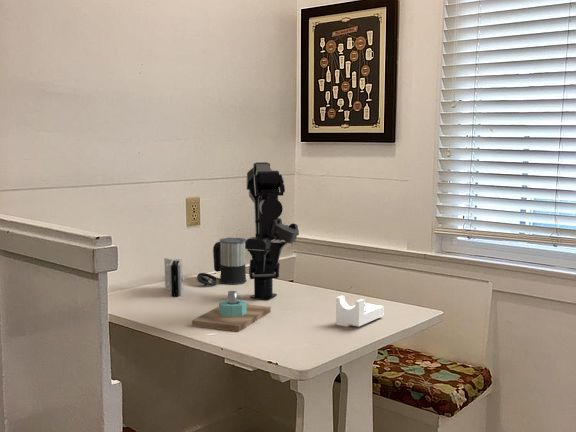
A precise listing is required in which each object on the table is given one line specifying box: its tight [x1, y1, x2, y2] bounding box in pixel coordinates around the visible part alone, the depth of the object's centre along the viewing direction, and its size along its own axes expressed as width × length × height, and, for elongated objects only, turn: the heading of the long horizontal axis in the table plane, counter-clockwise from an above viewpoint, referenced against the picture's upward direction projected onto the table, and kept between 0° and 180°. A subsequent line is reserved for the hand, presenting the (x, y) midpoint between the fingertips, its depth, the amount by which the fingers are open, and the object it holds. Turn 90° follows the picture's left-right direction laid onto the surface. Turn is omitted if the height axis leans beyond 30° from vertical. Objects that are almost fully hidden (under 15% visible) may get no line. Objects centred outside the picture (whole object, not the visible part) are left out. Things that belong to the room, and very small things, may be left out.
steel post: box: [227, 290, 238, 305], centre depth 178 cm, size 2×2×6 cm
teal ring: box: [218, 299, 248, 317], centre depth 178 cm, size 7×7×3 cm
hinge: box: [164, 257, 184, 298], centre depth 210 cm, size 14×5×10 cm, turn 18°
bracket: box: [335, 295, 385, 327], centre depth 176 cm, size 13×7×8 cm, turn 142°
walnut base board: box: [191, 303, 272, 332], centre depth 179 cm, size 20×14×2 cm
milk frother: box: [196, 237, 247, 287], centre depth 221 cm, size 14×16×15 cm
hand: (268, 269), depth 185 cm, fingers open, 9 cm apart
